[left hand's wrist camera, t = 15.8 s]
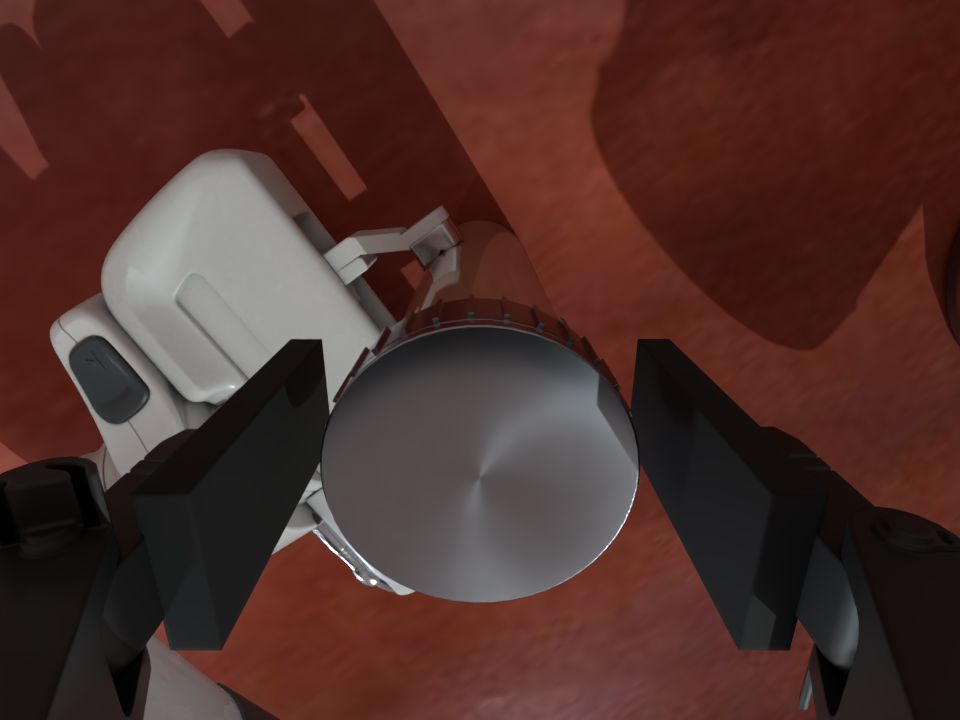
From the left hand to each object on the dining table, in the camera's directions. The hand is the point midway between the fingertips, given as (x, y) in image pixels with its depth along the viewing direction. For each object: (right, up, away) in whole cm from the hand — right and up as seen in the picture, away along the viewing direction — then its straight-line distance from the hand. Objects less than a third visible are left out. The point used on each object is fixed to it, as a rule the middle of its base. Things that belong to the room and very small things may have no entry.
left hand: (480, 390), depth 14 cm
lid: (0, -1, -3) cm, 4 cm away
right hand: (+1, +4, +8) cm, 9 cm away
